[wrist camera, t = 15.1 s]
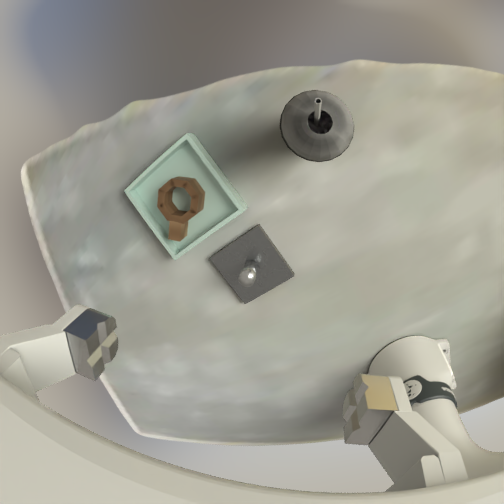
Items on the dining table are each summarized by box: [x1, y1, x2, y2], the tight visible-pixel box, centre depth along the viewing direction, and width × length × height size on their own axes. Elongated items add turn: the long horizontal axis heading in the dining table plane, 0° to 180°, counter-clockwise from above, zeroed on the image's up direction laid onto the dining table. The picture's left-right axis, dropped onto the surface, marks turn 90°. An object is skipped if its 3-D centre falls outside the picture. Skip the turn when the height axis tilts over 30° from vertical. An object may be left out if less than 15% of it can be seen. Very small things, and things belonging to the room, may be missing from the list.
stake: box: [210, 224, 294, 304], centre depth 43 cm, size 9×9×5 cm
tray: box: [124, 133, 248, 260], centre depth 42 cm, size 13×13×2 cm
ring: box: [157, 176, 205, 242], centre depth 42 cm, size 9×6×3 cm
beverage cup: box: [280, 90, 354, 162], centre depth 28 cm, size 7×7×20 cm
